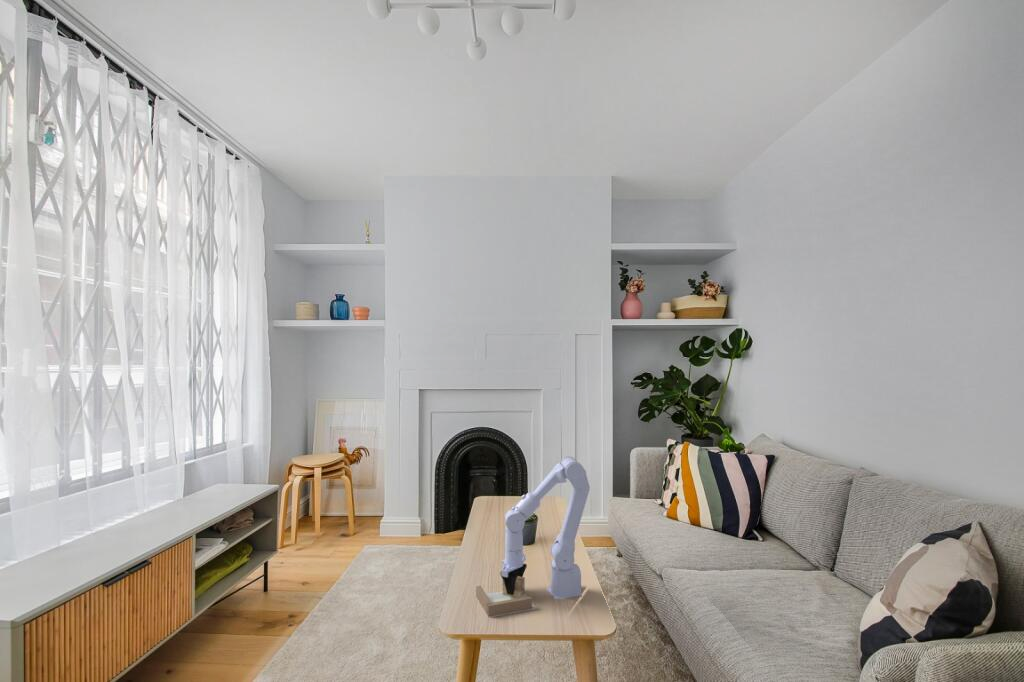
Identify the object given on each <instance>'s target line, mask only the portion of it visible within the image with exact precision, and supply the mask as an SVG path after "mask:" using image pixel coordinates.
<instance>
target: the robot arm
mask: <svg viewBox="0 0 1024 682" xmlns="http://www.w3.org/2000/svg"><path fill="white" fill-rule="evenodd" d="M567 480H568V481H569V482H570V484H571V486H572V493H571V495H570V499H569V501H568V502H569V503H568V506H567V508H566V513H565V516H564V519H563V523H562V526H561V530H560V533H559V534H558V535H557V536H556V538H555V541H554V542H553V544H552V545H551V547H550V555H551V556H552V558H553V560H552V562H551V563H550V564H551V565H550V567H551V568H550V569H551V570H550V577H551V578H550V587H547V588H546V590H547V592H548V593H550V594H551V596H552V597H553V598H554V599H555V600H562V599H567V598H573V597H578V596H580V597H582V596H583V594H582V573H581V569H580V566H579V564H577V563H575V551H576V546H575V545H576V543H575V540H576V537H577V534H578V530H579V527H580V524H581V520H582V517H583V513H584V510H585V507H586V503H587V500H588V496H589V492H590V490H591V489H590V484H589V480H588V476H587V471H586V469H585V468H584V466H583V465H582V464H581V463H580V462H578V461H577V460H576V459H575V458H574V457H573V456H571V455H569V456H564V457H563V458H561V460H560V462H557V464H555V465H554V467H553V468H552V470H551V471H550V472H549V473H548V474H547V475H546V477H545V478H544V479H543V480H542V482H540V484H539V485H538V486H537V487H536V488H535V489H534V491H533V492H527V493H526V494H523V495H521V499H520V500H519V502H517V503H516V505H515V506H512V507H511V509H509V510H507V512H506V513H505V516H504V523H505V524H506V525H505V535H504V536H505V537H504V538H505V539H504V540H505V541H504V543H505V544H504V547H505V548H504V549H505V551H504V556H505V557H504V558H503V559H502V560H501V563H502V564H503V567H502V569H501V571H500V577H501V578H502V582H503V581H504V583H505V587H506V591H507V594H509V595H513V594H514V590H515V583H516V579H517V576H520V577H524V574H525V572H526V569H527V568H528V567H527V566H528V565H527V564H526V563H525V561H526V554H524V553H523V552H524V550H523V549H524V547H523V546H524V543H523V542H524V541H523V540H524V535H523V529H524V527H525V523H526V521H527V520H528V519H529V518H530V517H531V516H532V515H533V514H534V513H535V512H536V511H537V509H538V508H539V507H540V506H541V500H542V499H543V498H544V497H545V496H546V495H547V494H548V493H549V492H551V490H552V489H554V488H555V486H557V484H562V483H567V482H568V481H567Z"/></svg>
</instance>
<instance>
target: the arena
mask: <svg viewBox="0 0 1024 682" xmlns="http://www.w3.org/2000/svg"><path fill="white" fill-rule="evenodd" d="M475 598H476V599H477V600H478V602H479V604H480V605H481V607H482V610H484V612H485V614H486V615H487V617H488V618H489V619H490V618H494V617H499V616H500V617H501V616H506V615H509V614H510V615H511V614H516V613H521V612H527V611H531V610H532V611H533V610H537V609H538V608H537V607H536V605H535V604H534V603H533V598H532V597H531V596H530V595H529V596H528V595H527V594H526V593H524V594H523V595H522V596H521V597H520V598H516V597H511V596H507V595H503V590H500V591H496V592H488V593H486V591H485V590H484V589H483V587H482V586H481V585H476V586H475Z"/></svg>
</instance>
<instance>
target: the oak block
mask: <svg viewBox="0 0 1024 682" xmlns="http://www.w3.org/2000/svg"><path fill="white" fill-rule="evenodd" d="M525 582H526V579H525V577H524V576H523V577H520V576H517V579H516V583H515V590H514V594H513V595H509V594H507V591H506V587H505V583H504V581H503V580H502V591H503V595H507V596H511V597H516V598H520V597H521V596H522V595H523V594H524V593H525V592H526V591H525V584H526V583H525ZM525 594H526V593H525Z"/></svg>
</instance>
